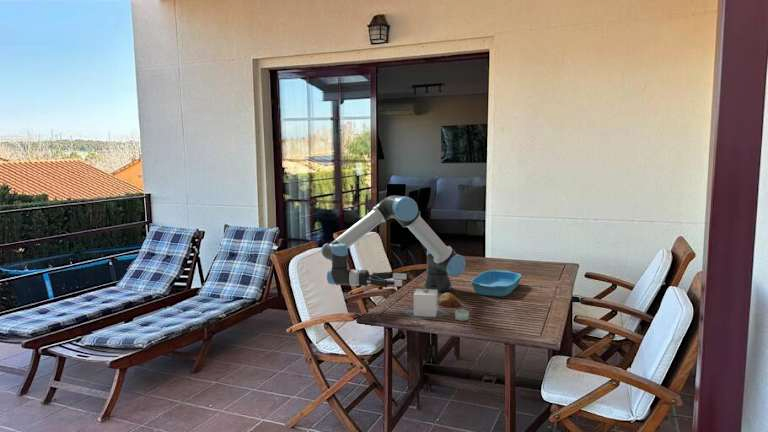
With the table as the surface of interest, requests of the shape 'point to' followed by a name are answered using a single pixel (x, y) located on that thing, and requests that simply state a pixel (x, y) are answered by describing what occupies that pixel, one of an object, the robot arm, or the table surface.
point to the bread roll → (448, 300)
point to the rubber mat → (411, 314)
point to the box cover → (425, 302)
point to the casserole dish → (496, 283)
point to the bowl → (461, 314)
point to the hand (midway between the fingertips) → (404, 279)
